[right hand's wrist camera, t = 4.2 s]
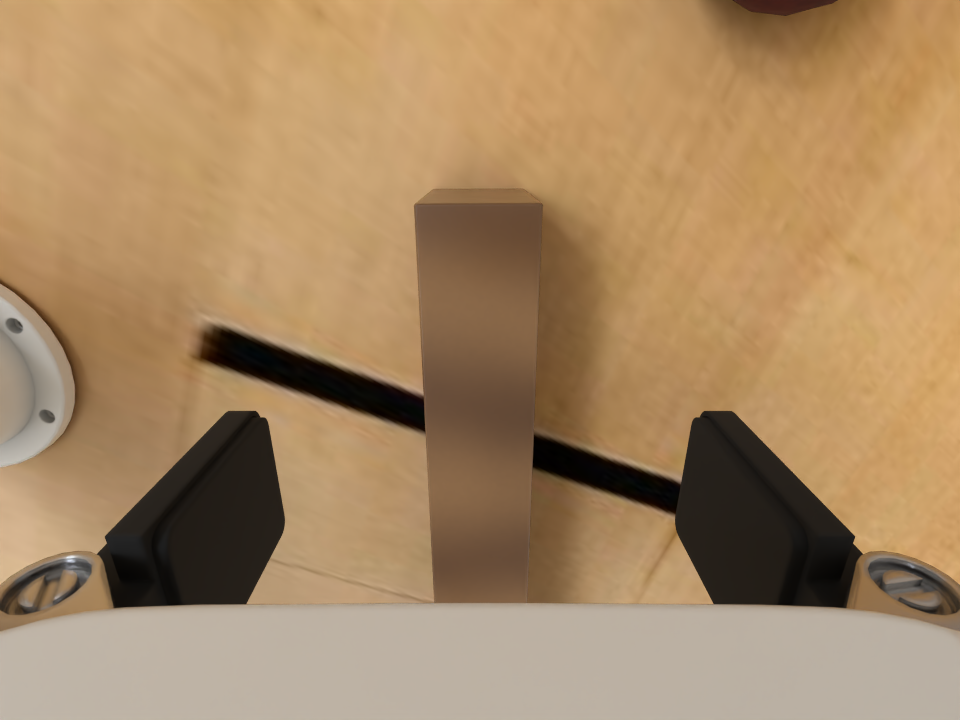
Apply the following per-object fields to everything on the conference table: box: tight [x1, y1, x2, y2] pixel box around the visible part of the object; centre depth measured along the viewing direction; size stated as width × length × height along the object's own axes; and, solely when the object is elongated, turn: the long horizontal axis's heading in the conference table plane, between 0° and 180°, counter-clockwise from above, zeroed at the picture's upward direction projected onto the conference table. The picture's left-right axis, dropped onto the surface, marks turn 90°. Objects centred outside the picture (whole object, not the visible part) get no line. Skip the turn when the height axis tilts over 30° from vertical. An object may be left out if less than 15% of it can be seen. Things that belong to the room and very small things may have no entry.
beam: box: [414, 189, 543, 603], centre depth 35 cm, size 67×5×8 cm, turn 0°
